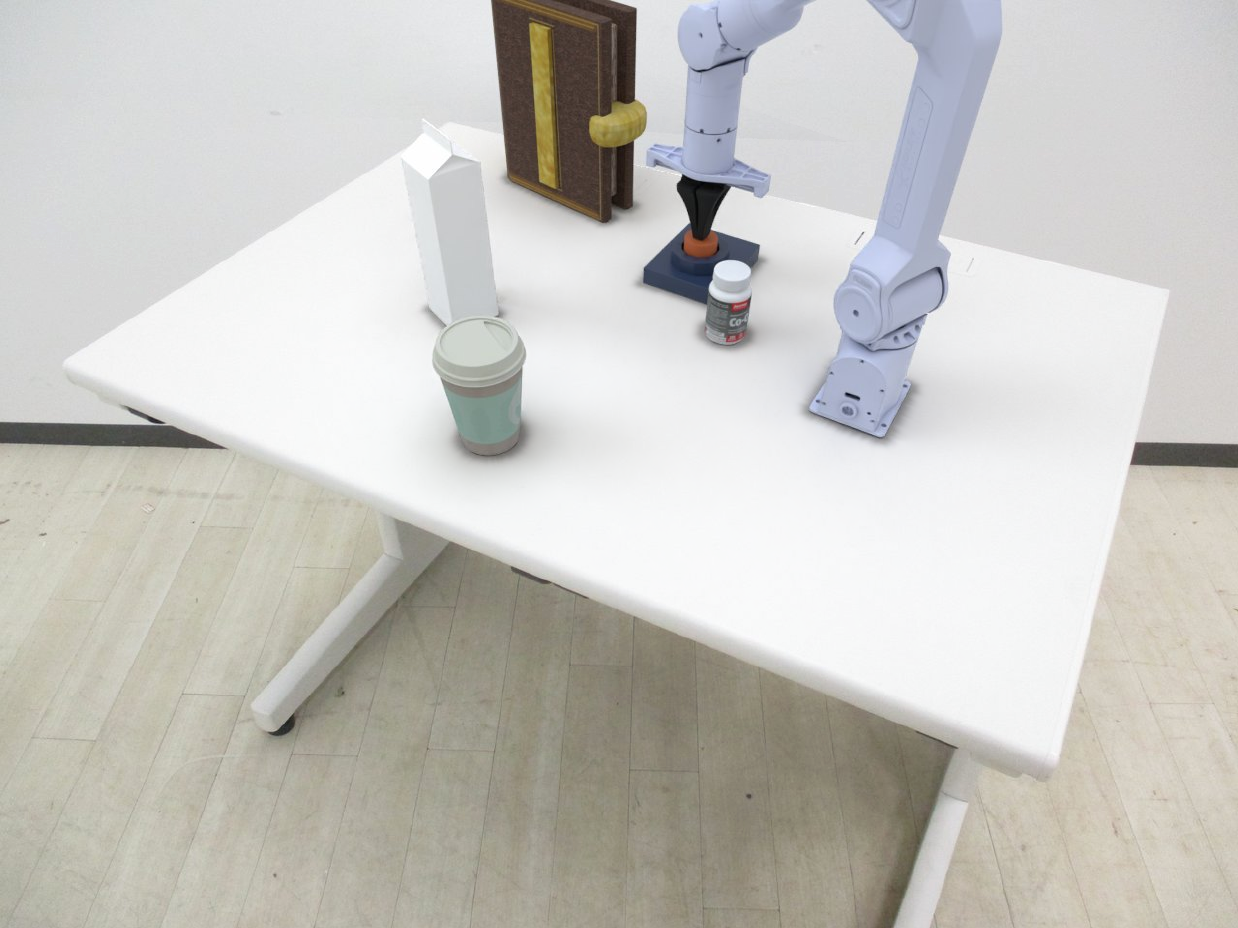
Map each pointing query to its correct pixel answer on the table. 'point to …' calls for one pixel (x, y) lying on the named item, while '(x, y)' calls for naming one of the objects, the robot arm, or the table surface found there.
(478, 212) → the milk
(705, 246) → the orange push button
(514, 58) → the book
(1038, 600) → the table surface
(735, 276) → the pill bottle
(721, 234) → the block
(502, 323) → the coffee cup
